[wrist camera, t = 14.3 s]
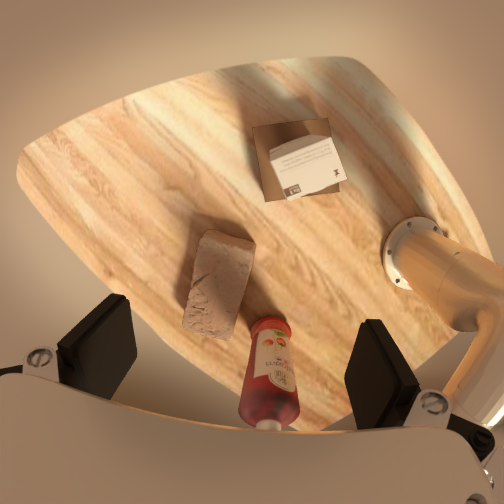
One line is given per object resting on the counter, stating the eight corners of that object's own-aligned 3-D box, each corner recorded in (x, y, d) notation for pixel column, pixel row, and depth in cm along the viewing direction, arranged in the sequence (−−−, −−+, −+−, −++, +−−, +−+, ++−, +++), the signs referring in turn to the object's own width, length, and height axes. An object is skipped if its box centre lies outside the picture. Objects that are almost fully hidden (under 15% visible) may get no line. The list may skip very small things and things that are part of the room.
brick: (206, 227, 43) (198, 234, 38) (258, 241, 43) (257, 250, 38) (187, 316, 48) (180, 330, 43) (233, 329, 48) (229, 344, 44)
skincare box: (311, 132, 33) (333, 131, 21) (324, 164, 34) (351, 178, 23) (266, 150, 34) (267, 157, 23) (280, 182, 35) (287, 203, 24)
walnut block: (321, 123, 37) (327, 118, 32) (331, 188, 40) (339, 191, 35) (254, 132, 38) (252, 127, 33) (265, 198, 41) (265, 202, 36)
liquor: (242, 335, 48) (216, 477, 21) (263, 304, 46) (252, 451, 19) (277, 352, 48) (277, 492, 22) (300, 323, 46) (319, 468, 20)
